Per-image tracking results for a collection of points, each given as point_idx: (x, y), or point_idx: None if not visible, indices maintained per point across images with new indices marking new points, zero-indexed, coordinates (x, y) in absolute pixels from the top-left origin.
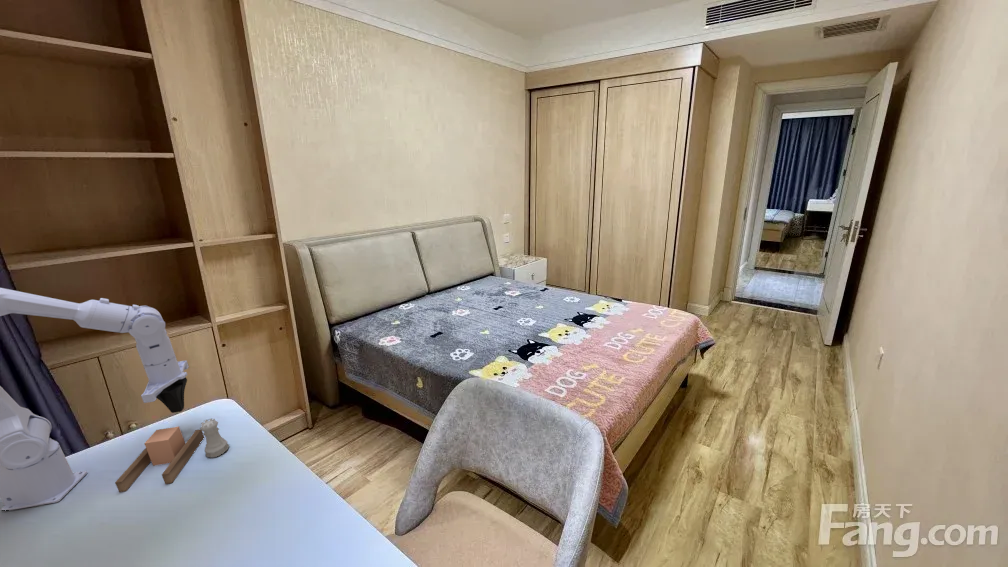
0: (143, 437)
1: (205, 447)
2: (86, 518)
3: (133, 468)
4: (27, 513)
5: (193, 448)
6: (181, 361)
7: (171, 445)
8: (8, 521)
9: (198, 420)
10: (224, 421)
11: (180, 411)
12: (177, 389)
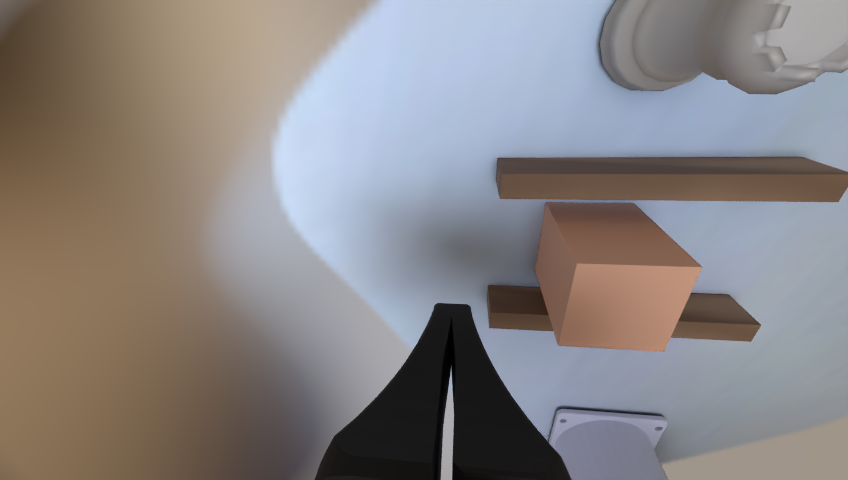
0: None
1: (674, 84)
2: (805, 339)
3: (688, 320)
4: (667, 445)
5: (599, 163)
6: None
7: (668, 242)
8: (676, 460)
9: (359, 235)
10: (385, 117)
11: (470, 307)
12: (551, 471)
